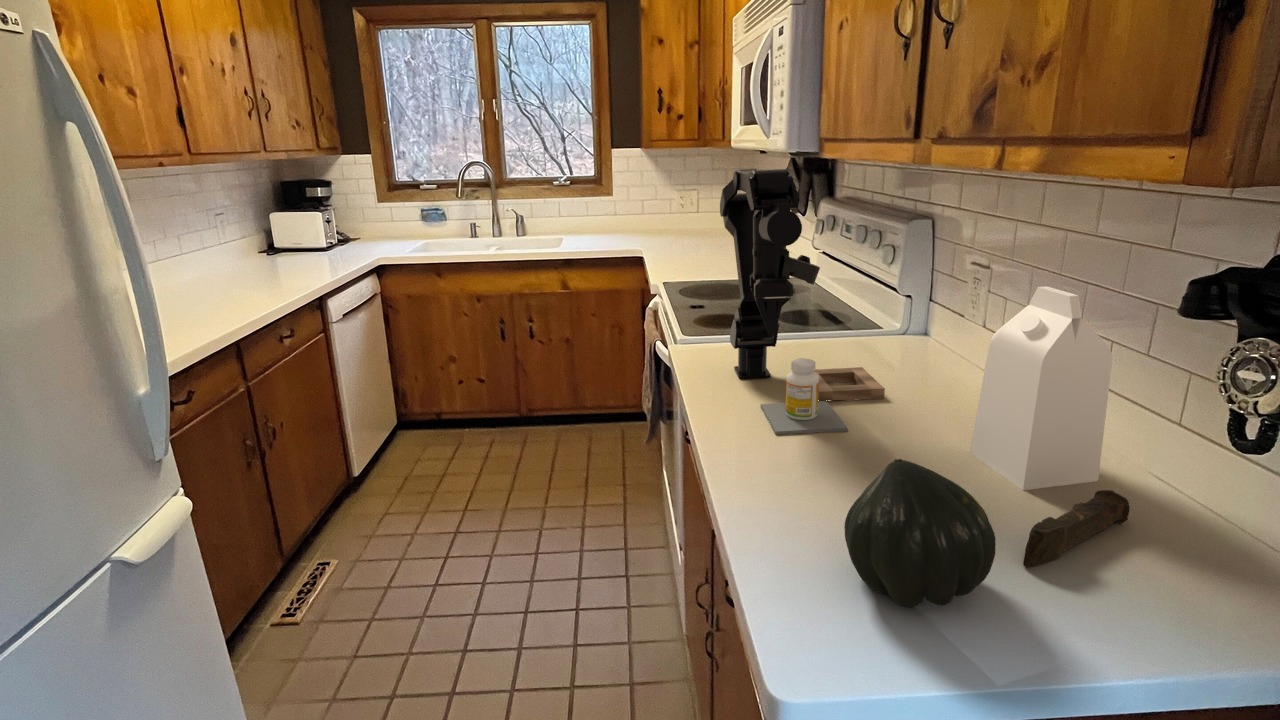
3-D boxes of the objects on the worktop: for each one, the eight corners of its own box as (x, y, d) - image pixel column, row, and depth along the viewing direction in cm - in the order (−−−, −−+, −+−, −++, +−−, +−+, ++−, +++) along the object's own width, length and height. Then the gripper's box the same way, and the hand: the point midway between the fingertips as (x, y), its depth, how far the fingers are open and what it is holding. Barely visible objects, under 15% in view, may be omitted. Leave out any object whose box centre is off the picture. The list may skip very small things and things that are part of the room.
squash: (1039, 592, 66) (990, 441, 72) (886, 611, 65) (849, 456, 71) (972, 603, 79) (935, 474, 85) (843, 618, 78) (815, 487, 84)
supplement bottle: (800, 406, 124) (802, 354, 121) (824, 415, 120) (826, 362, 116) (779, 414, 121) (780, 361, 118) (802, 423, 117) (804, 369, 114)
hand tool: (1094, 511, 89) (1100, 479, 88) (1127, 525, 86) (1134, 492, 85) (1000, 558, 81) (1005, 523, 79) (1033, 576, 77) (1039, 540, 76)
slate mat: (760, 407, 126) (760, 404, 126) (826, 403, 126) (826, 400, 126) (775, 434, 114) (775, 431, 114) (847, 431, 115) (847, 427, 115)
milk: (1098, 480, 96) (1132, 297, 88) (1022, 490, 95) (1051, 304, 86) (1037, 444, 108) (1063, 279, 99) (969, 452, 106) (989, 285, 98)
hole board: (801, 379, 138) (802, 370, 138) (861, 376, 139) (862, 367, 138) (819, 402, 127) (819, 391, 126) (883, 398, 127) (884, 388, 127)
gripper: (824, 244, 112) (823, 339, 115) (809, 238, 130) (808, 321, 134) (754, 247, 113) (755, 341, 117) (749, 241, 131) (750, 322, 135)
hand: (770, 330), depth 125 cm, fingers open, 9 cm apart
